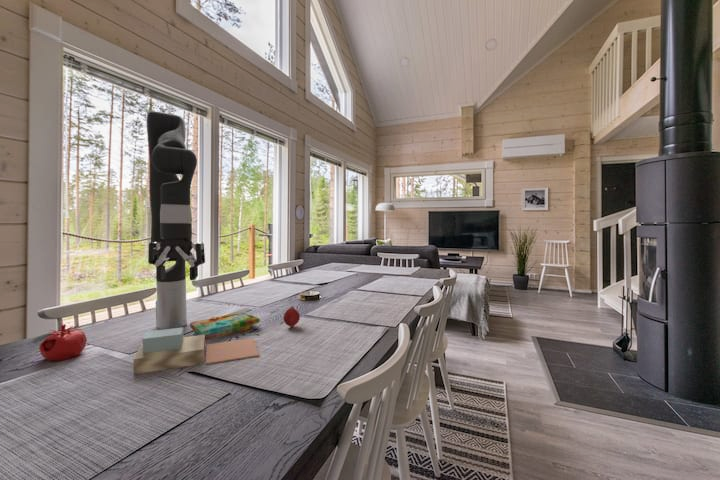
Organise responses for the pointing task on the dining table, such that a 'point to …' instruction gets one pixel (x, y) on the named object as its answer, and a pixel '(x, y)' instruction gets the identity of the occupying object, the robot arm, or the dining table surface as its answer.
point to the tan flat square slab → (231, 351)
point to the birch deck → (171, 356)
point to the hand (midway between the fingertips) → (177, 279)
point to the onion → (291, 317)
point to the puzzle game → (223, 325)
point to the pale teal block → (163, 340)
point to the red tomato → (63, 344)
